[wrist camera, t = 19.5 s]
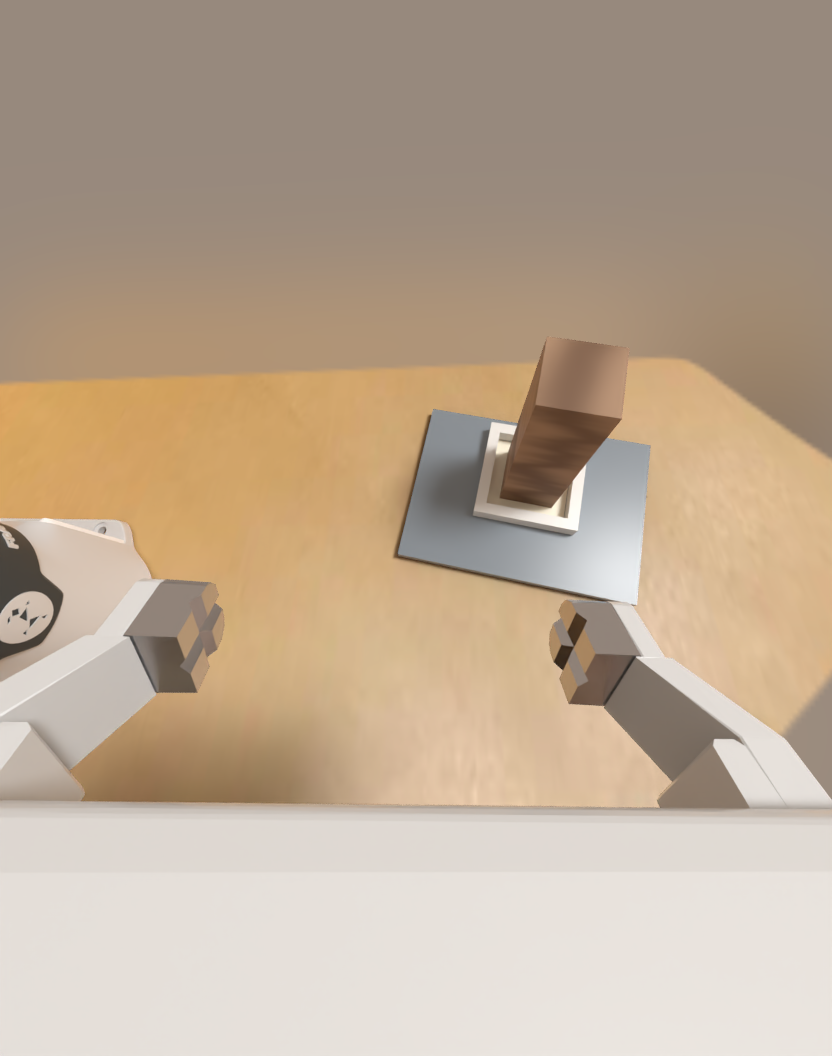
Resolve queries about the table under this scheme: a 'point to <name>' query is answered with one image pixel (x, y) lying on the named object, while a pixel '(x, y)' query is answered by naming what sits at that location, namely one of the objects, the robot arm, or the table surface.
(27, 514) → the table surface
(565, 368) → the pillar
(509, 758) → the table surface
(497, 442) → the socket
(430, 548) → the board
